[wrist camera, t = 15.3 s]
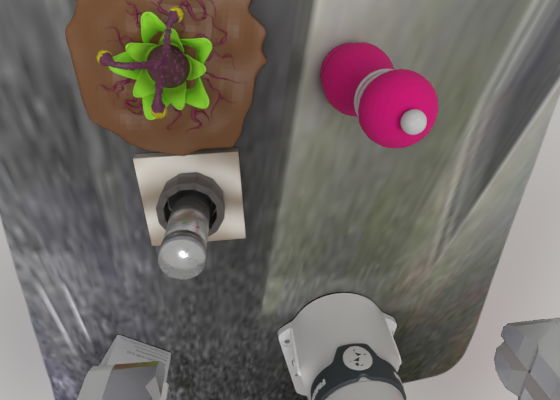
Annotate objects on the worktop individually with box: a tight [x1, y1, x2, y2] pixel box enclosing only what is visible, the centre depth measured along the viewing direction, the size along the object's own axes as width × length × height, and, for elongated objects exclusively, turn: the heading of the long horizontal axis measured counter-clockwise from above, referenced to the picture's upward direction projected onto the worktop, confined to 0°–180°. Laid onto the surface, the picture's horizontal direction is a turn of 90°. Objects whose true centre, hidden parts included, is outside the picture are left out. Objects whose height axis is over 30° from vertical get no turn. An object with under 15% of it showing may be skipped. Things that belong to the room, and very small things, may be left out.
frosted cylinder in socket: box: [158, 189, 211, 279], centre depth 44 cm, size 5×5×12 cm
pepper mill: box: [321, 43, 438, 148], centre depth 37 cm, size 7×7×20 cm
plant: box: [65, 0, 267, 156], centre depth 39 cm, size 20×20×11 cm
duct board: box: [133, 147, 246, 246], centre depth 49 cm, size 12×12×4 cm
